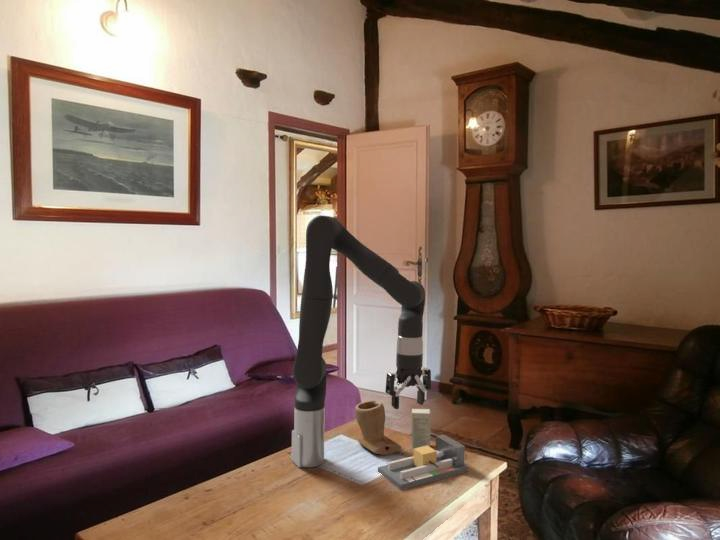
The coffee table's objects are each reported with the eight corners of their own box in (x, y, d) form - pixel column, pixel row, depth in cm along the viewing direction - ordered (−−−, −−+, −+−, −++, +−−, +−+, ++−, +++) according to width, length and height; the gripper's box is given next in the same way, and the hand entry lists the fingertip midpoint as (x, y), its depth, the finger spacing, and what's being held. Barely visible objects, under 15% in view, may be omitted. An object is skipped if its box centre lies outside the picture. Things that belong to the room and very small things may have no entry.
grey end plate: (456, 467, 155) (457, 448, 154) (435, 454, 163) (436, 436, 163) (464, 465, 156) (464, 446, 156) (443, 452, 165) (443, 434, 164)
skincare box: (430, 444, 175) (431, 408, 174) (430, 450, 170) (431, 413, 169) (410, 443, 175) (411, 407, 174) (410, 448, 171) (411, 412, 170)
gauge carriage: (430, 476, 148) (431, 459, 148) (413, 464, 156) (413, 448, 155) (455, 469, 153) (456, 453, 152) (437, 458, 160) (437, 442, 160)
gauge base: (400, 490, 144) (400, 477, 144) (377, 472, 154) (378, 460, 154) (467, 471, 156) (468, 460, 155) (442, 455, 166) (442, 445, 166)
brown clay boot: (348, 442, 175) (348, 399, 174) (379, 436, 181) (380, 394, 179) (369, 461, 162) (370, 413, 160) (402, 453, 167) (403, 408, 166)
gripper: (422, 346, 157) (420, 399, 158) (381, 350, 150) (380, 405, 151) (437, 351, 150) (435, 406, 151) (395, 356, 143) (394, 414, 144)
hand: (408, 406), depth 151 cm, fingers open, 8 cm apart
